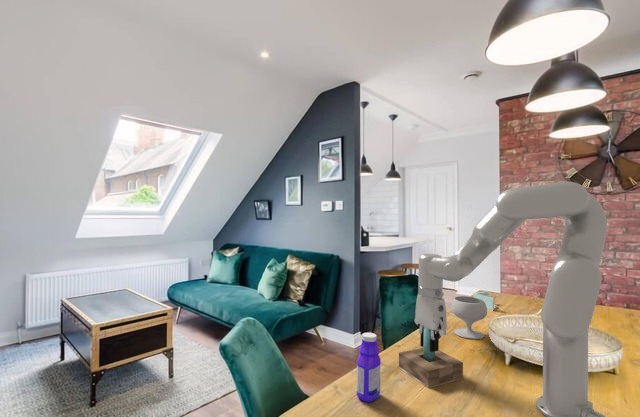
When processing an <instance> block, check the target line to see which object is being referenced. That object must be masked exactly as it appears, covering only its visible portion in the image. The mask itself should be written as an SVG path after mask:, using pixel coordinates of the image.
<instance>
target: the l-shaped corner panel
mask: <svg viewBox="0 0 640 417" xmlns="http://www.w3.org/2000/svg"><path fill="white" fill-rule="evenodd" d="M472 295H473V296H472V297H475V298H479V299H482V300H483V301H484V302H485V304H486V307H487V308H488V309H492V310H494V311H495V309H494V307H496V308H497V304H495V298H494V297H491V296H489V291H488V290H487V291H480V292H479V291H478V292H474V293H472Z"/></svg>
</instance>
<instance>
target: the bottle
mask: <svg viewBox="0 0 640 417" xmlns="http://www.w3.org/2000/svg"><path fill="white" fill-rule="evenodd" d="M377 340H378V338H377V334H375V333H373V332H364V333H362V334H361V344H360V347H359V349H358V351H359V355H358V358H357V361H356V397H357V398H358V399H360V400H361V401H363V402H367V403H371V402H373V401H375V400H377V399H378V398H379V396H380V394H381V365H382V364H381V363H382V361H381V357H380V355H379V353H380V349H379V347H378V343H377Z"/></svg>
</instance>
